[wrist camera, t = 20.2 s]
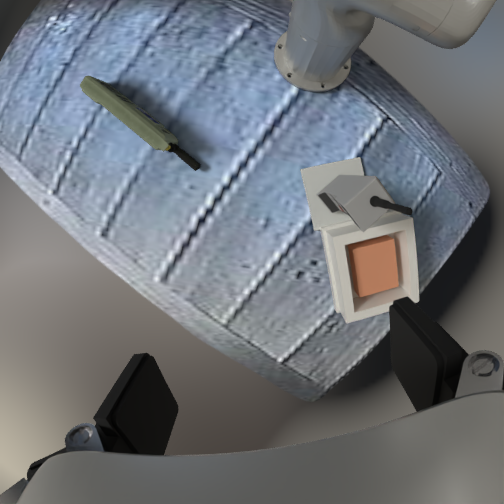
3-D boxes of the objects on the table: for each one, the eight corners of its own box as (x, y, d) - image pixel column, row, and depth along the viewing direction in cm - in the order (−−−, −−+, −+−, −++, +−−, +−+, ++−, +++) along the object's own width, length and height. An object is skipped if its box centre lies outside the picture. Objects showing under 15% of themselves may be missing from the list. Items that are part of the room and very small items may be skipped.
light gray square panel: (300, 169, 45) (300, 169, 45) (358, 157, 44) (360, 157, 44) (314, 230, 48) (314, 230, 47) (370, 216, 47) (372, 217, 46)
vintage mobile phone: (315, 194, 46) (370, 218, 22) (338, 174, 45) (413, 178, 21) (330, 212, 46) (395, 253, 22) (353, 192, 45) (436, 214, 21)
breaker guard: (319, 225, 48) (328, 234, 41) (396, 208, 46) (415, 213, 40) (334, 308, 51) (343, 326, 44) (404, 288, 50) (421, 303, 43)
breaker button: (347, 244, 46) (352, 249, 43) (386, 235, 45) (394, 239, 42) (354, 290, 48) (359, 297, 45) (391, 280, 47) (398, 286, 44)
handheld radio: (107, 80, 42) (207, 159, 46) (97, 94, 43) (194, 175, 47) (88, 72, 36) (197, 159, 39) (76, 88, 37) (182, 177, 40)
